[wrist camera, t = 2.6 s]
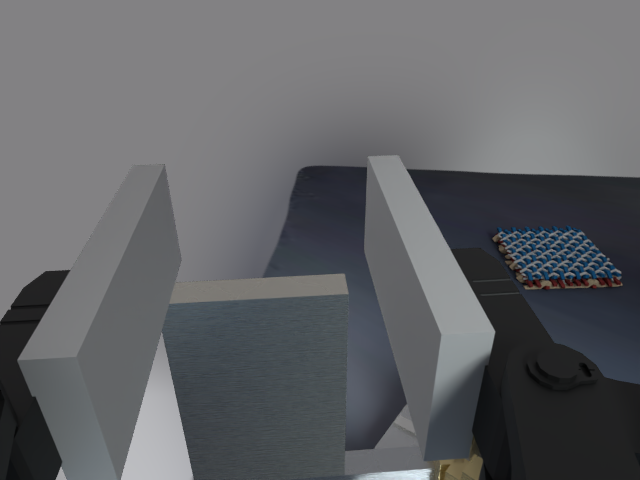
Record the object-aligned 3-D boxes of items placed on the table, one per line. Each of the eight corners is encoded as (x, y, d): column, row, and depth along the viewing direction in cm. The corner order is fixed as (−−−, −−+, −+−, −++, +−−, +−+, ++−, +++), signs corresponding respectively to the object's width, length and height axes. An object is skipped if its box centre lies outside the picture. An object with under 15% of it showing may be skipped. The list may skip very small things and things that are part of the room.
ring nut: (532, 410, 36) (586, 225, 29) (597, 530, 29) (691, 325, 21) (208, 433, 35) (174, 245, 27) (191, 565, 28) (139, 359, 20)
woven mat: (521, 296, 52) (525, 279, 51) (488, 241, 61) (491, 226, 60) (625, 293, 52) (631, 276, 51) (576, 239, 61) (581, 223, 60)
